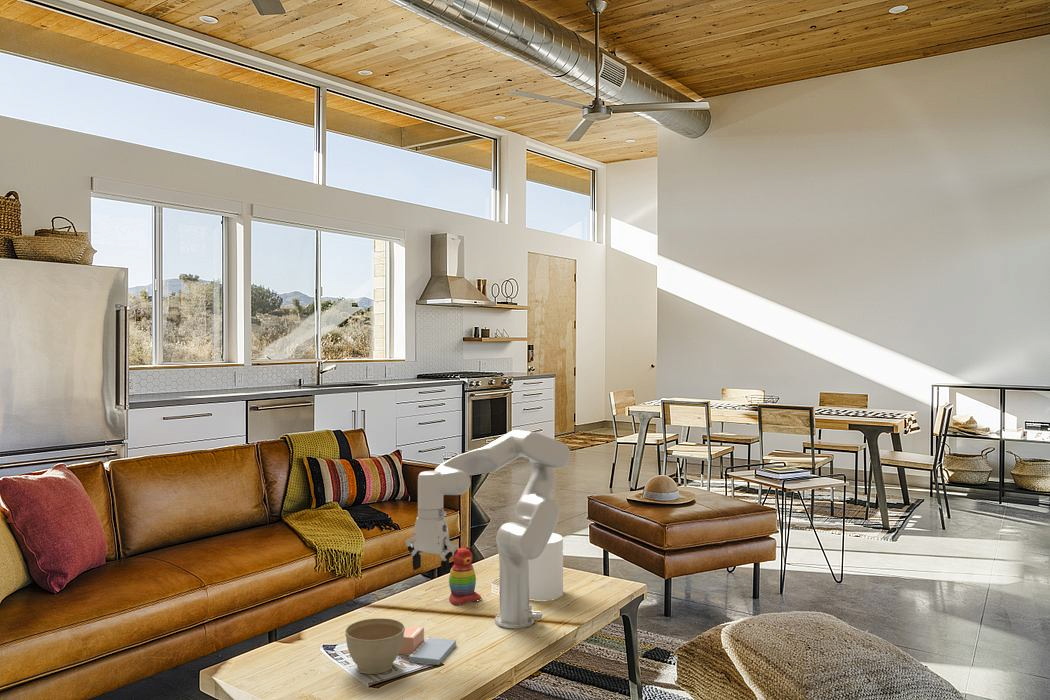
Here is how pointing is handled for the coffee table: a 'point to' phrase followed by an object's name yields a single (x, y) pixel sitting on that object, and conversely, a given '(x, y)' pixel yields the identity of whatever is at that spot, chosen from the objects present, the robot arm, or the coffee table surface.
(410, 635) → the peach rectangular block
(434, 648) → the board
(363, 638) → the planter bowl
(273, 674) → the coffee table surface
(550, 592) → the canister
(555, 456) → the robot arm
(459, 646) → the coffee table surface
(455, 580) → the stacking bear
